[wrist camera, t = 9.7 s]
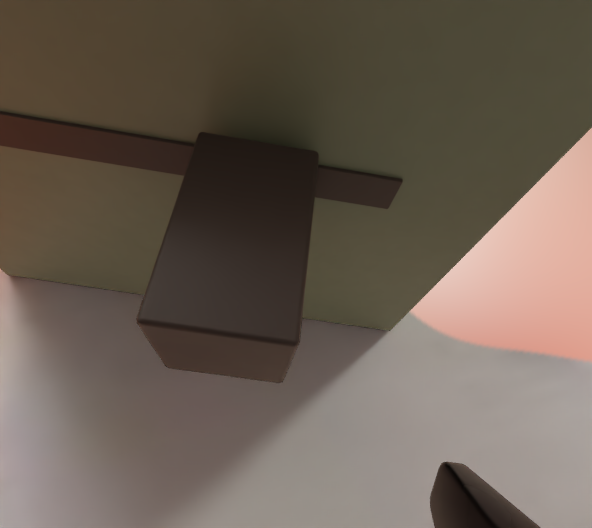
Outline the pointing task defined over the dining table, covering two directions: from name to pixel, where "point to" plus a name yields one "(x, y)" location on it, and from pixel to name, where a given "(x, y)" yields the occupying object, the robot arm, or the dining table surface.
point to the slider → (234, 261)
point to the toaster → (285, 129)
